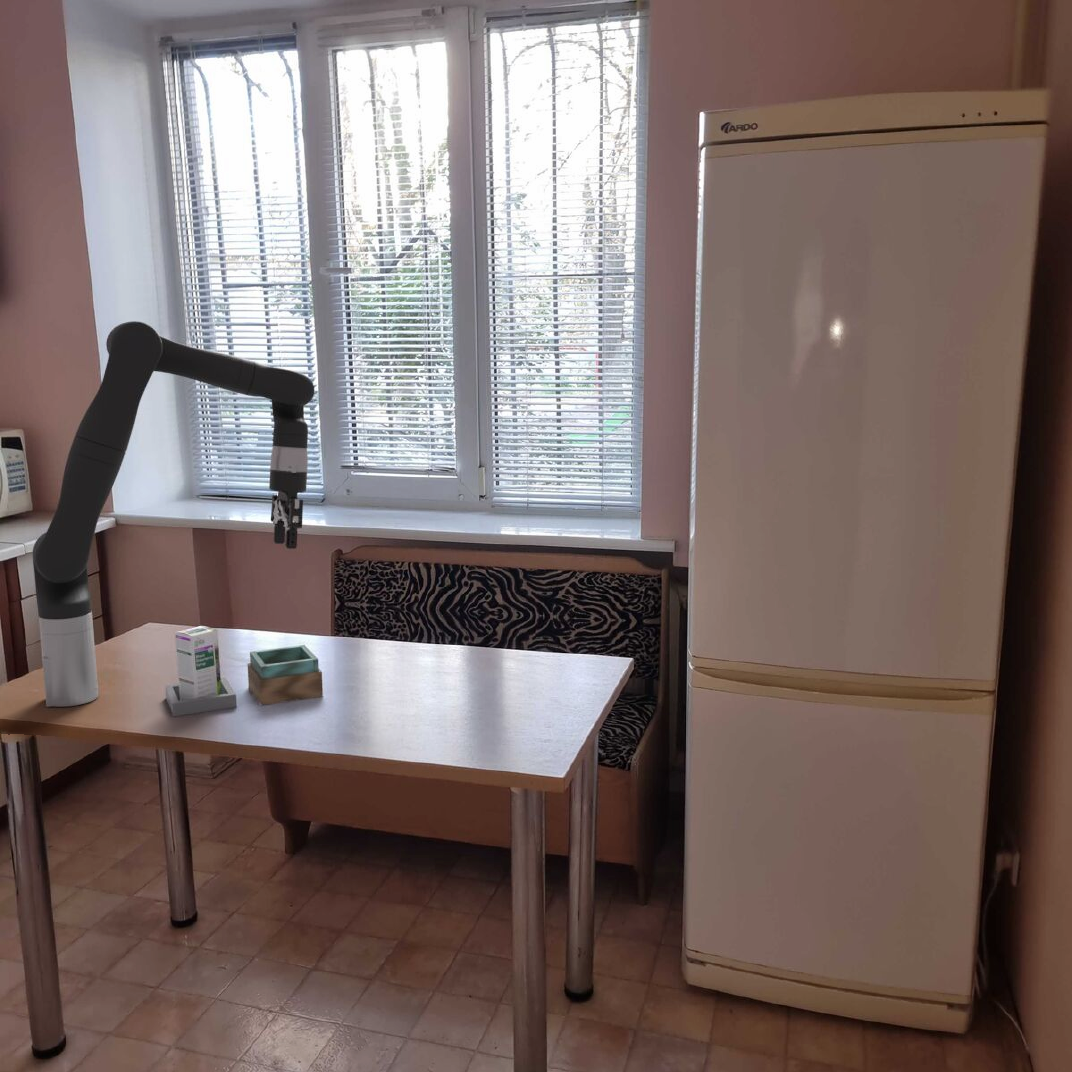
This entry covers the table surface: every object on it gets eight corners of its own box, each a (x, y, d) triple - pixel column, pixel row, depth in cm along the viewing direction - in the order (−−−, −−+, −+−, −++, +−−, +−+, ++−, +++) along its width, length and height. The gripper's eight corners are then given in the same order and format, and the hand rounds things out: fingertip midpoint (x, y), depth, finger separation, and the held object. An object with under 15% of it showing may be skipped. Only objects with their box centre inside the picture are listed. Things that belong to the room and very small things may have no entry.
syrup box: (196, 709, 182) (192, 635, 180) (178, 703, 186) (174, 630, 183) (222, 701, 187) (218, 629, 184) (204, 695, 190) (200, 624, 188)
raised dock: (260, 705, 185) (259, 667, 183) (248, 687, 195) (246, 651, 194) (322, 696, 190) (321, 659, 189) (307, 678, 201) (306, 643, 199)
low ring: (173, 716, 179) (172, 703, 178) (165, 697, 189) (165, 685, 188) (236, 706, 184) (235, 694, 183) (226, 689, 194) (225, 677, 193)
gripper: (261, 466, 206) (257, 541, 207) (280, 469, 193) (276, 549, 195) (296, 468, 209) (292, 542, 211) (317, 471, 197) (312, 550, 199)
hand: (284, 545), depth 203 cm, fingers open, 8 cm apart
